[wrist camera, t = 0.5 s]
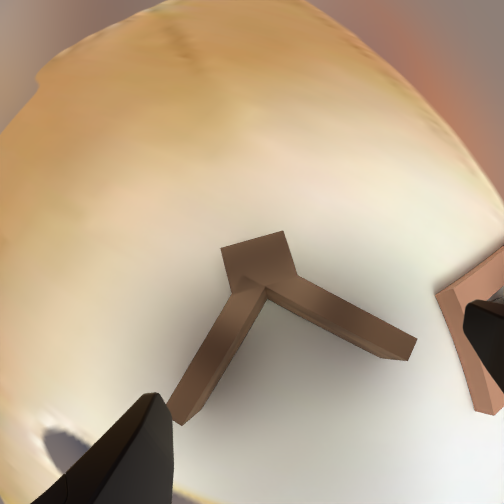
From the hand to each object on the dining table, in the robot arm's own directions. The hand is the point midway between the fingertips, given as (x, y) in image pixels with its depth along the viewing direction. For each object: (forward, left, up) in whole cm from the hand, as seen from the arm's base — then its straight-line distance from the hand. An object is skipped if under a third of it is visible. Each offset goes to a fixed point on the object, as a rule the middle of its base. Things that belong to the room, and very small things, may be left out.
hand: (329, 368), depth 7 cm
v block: (+2, -1, -15) cm, 15 cm away
